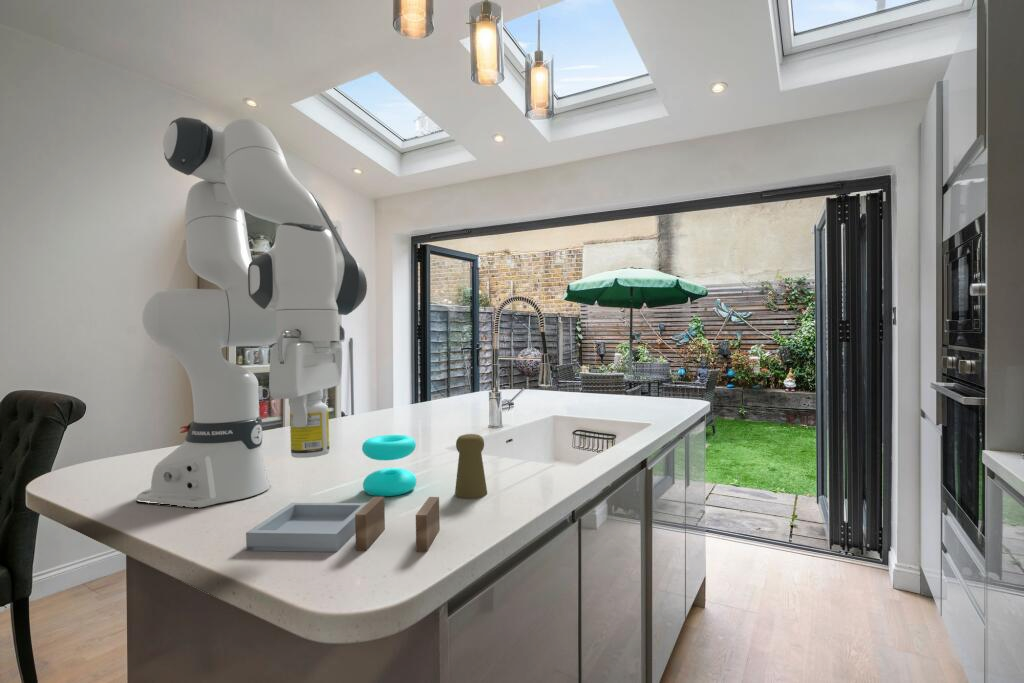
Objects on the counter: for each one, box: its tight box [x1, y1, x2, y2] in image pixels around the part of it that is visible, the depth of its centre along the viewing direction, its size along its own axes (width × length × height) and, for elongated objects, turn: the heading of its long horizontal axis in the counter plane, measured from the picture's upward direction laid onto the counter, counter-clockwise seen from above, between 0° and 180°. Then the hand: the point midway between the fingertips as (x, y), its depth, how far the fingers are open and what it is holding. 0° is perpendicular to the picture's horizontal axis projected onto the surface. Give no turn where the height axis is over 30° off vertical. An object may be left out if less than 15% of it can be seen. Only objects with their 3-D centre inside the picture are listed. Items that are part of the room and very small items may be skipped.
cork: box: [454, 433, 488, 500], centre depth 98 cm, size 6×6×11 cm
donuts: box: [361, 434, 417, 497], centre depth 101 cm, size 10×10×10 cm
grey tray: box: [245, 502, 368, 553], centre depth 79 cm, size 13×13×2 cm
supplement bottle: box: [289, 389, 330, 459], centre depth 79 cm, size 5×5×10 cm
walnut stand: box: [355, 496, 441, 553], centre depth 76 cm, size 10×8×5 cm
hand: (310, 422), depth 79 cm, fingers closed on supplement bottle, 5 cm apart
